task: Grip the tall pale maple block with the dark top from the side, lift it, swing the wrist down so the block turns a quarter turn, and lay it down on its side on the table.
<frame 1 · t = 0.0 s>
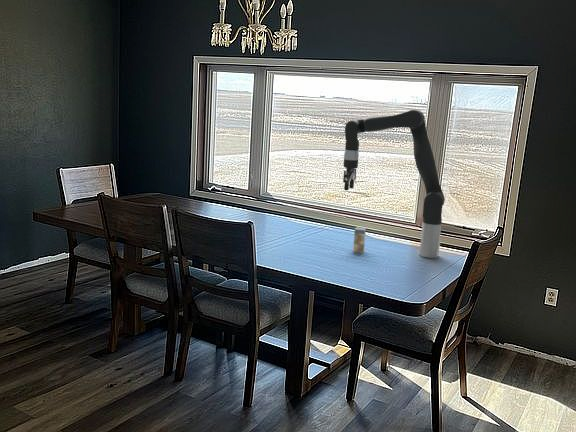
hand: (348, 189, 312), 29 cm above the table, tool pointing down, fingers open, 8 cm apart
maple block: (358, 251, 301), on the table
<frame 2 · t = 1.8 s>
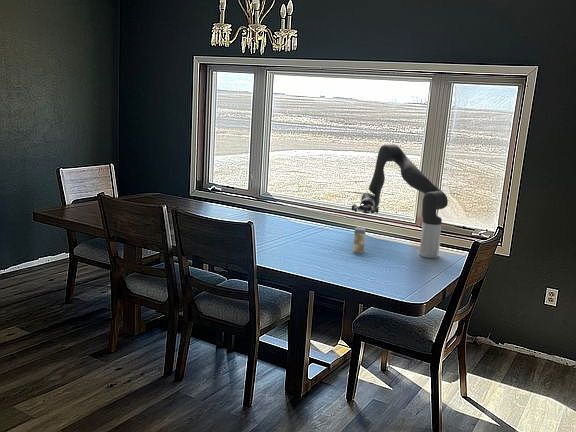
hand: (363, 211, 307), 19 cm above the table, tool horizontal, fingers open, 8 cm apart
nothing on the table moved.
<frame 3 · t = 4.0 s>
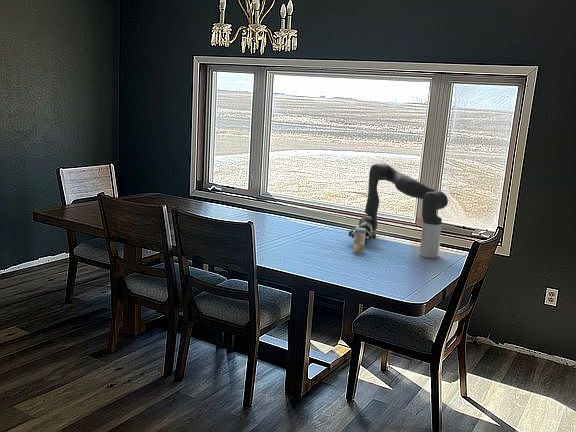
hand: (361, 237, 306), 6 cm above the table, tool horizontal, fingers open, 8 cm apart
nothing on the table moved.
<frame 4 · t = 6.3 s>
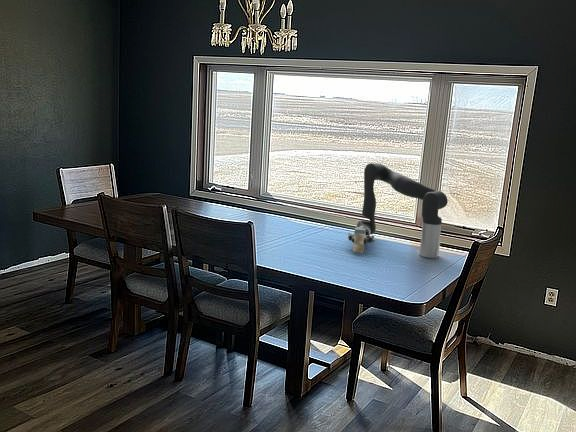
hand: (358, 241, 297), 6 cm above the table, tool horizontal, fingers closed on maple block, 5 cm apart
maple block: (358, 251, 301), on the table, touching gripper
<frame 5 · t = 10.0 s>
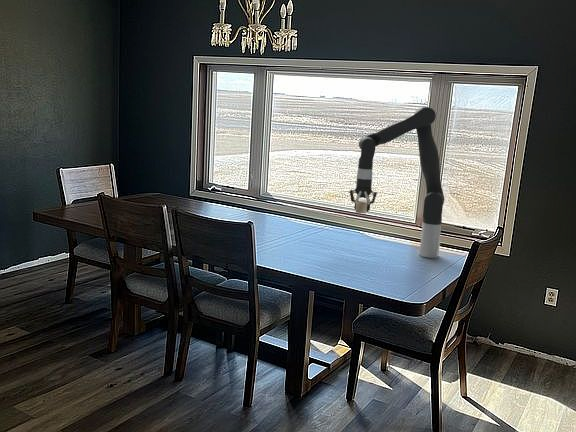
hand: (361, 210, 296), 21 cm above the table, tool pointing down, fingers closed on maple block, 5 cm apart
maple block: (360, 208, 290), point 24 cm above the table, tilted 90°, touching gripper
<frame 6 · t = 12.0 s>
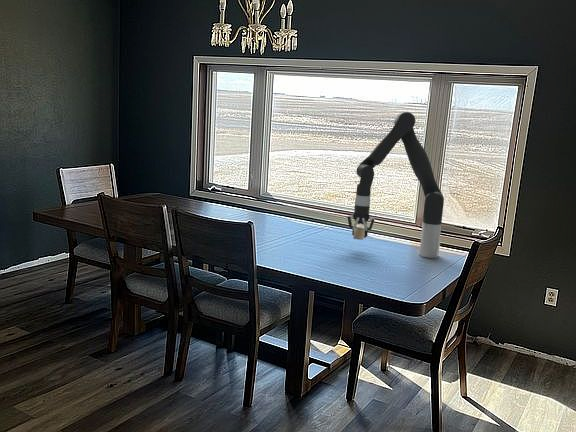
hand: (359, 236, 299), 8 cm above the table, tool pointing down, fingers closed on maple block, 5 cm apart
maple block: (358, 234, 293), point 10 cm above the table, tilted 90°, touching gripper
when the fingers open (2 cm above the table, at t = 13.7 s): maple block drops 2 cm, point 2 cm above the table.
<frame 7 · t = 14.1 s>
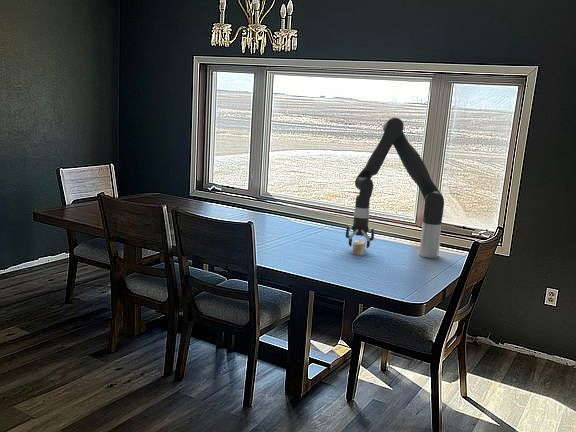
hand: (358, 246, 300), 2 cm above the table, tool pointing down, fingers open, 8 cm apart
maple block: (357, 249, 295), point 2 cm above the table, tilted 90°
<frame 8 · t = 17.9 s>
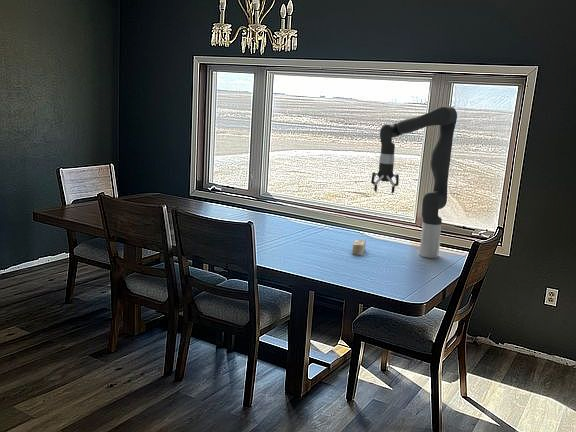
hand: (383, 192, 313), 28 cm above the table, tool pointing down, fingers open, 8 cm apart
nothing on the table moved.
at the end: maple block tilted 90°; maple block inside the target area (6.3 cm from its centre), point 2.4 cm above the table; the gripper is holding nothing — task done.
